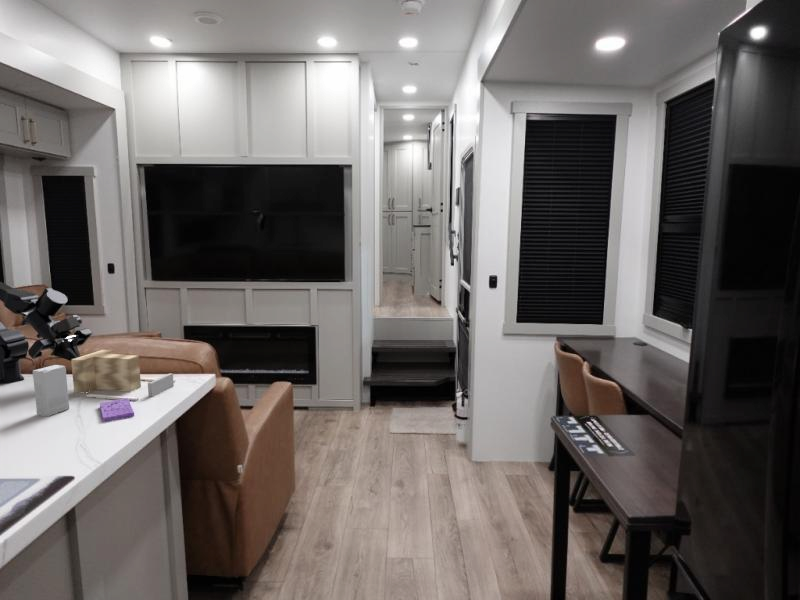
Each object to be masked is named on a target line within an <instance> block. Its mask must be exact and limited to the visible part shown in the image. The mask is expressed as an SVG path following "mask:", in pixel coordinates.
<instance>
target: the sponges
mask: <svg viewBox="0 0 800 600" xmlns="http://www.w3.org/2000/svg"><path fill="white" fill-rule="evenodd" d="M99 408H100V412H101V413H100V414H101V418H102V421H103V423H104V422H105V423H106V422H107V423H108V422H112V420H113V421H117V420H121V419H128V418H133V417H132V416H134V417H135V411H134V410H133V407H132V404H131V402H130V400H129V399H128V398H125V399H119V400H118V399H113V400H109V401H104V402H99ZM127 417H128V418H127Z"/></svg>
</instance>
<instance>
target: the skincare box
mask: <svg viewBox="0 0 800 600" xmlns="http://www.w3.org/2000/svg"><path fill="white" fill-rule="evenodd" d="M32 378H33V379H32V380H33V388H34V398H35V408H36V414H37V415H39V416H42V415H43V417H50V416H53V415H55V414H57V413H58V412H59V413H61V412H64V411H67V410H70V399H69V389H68V388H69V387H68V378H67V369H66V366H65V365H62V364H61V365H60V364H53V365H49V366H46V367H42V368H38V369H33V370H32Z"/></svg>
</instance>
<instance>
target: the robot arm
mask: <svg viewBox="0 0 800 600" xmlns="http://www.w3.org/2000/svg"><path fill="white" fill-rule="evenodd" d="M68 299H69V298H68V296H67V295H65V293H62V292H60V291H58V290H55V289H53V288H52V287H48V288H44V289H43V291H42V293H41V294H40V296H39V295H38V294H36V293H35V292H31V291H27V290H23V289H17V288H13V287H12V286H10V285H8V284H6V283H5V282H2V281H0V301H1V302H3V306H4V307H5V308H6V309H7V310H9V311H10V312H11V313H13V314H16V315H19V314H25V313H27V314H26V315H25V316H22V317H21V318H22V320H21V326H29V325H30V326H31V327H32V329H33V330H34V331H36V333H37V334H36V337H37V339H36V340H35V341H34V342H33V343H32V345H31V346H30V345H29V342H28V340H27V337H26V336H24V335H23V334H22V332H21V330H19V329H11V330H10V329H8V328H7V327H5V325H4V324H3V323H2V321H0V384H5V383H12V382H18V381H23V380H25V377H24V376H23V375H22V373H21V364H20V360H23V359H26V358H27V355H28V356H30V357H31V359H32V360H33V359H38V358H41V357H42V356H43V352H42V351H46V350H51V353H50V354H49V355H50V356H51V357H53V356H54V357H57V358H60V359H65V360H67V361H70V362H71V359H75V358H78V357H81V356H82V355H81V354H80V352H79V347H80V346H83V345H84V344H85V343H87V340H89V339H90V337H91V336H92V335H93V332H92V331H91V330H90V329H89V328H82V329H77V330H75V331H74V332H73V330H74V329H76V328H79V327H81V325H82V323H83V321H82V320H83V319H82V318H81V317H80V316H79V315H77V314H74V315H71V316H68V318H67V317H66V318H63V319H62V320H56V319H55V318H53V317H54V316H57V314H58V313H59V312H60V311H61V310H62V308H64V306H65V304H66V303H67V302H68ZM72 333H73V334H72ZM71 334H72V335H71ZM29 346H30V347H29Z"/></svg>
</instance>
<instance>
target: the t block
mask: <svg viewBox="0 0 800 600" xmlns="http://www.w3.org/2000/svg"><path fill="white" fill-rule="evenodd" d="M80 356H81V357H78V358H75V359H71V361H70V362H71V371H72V385H73V393H77V392H84V393H83V394H87V393H86V392H88V393H89V391H90V392H92V391H91V390H93V391H95V390H105V389H106V391H108V390H109V391H118V390H125V391H124V392H131V391H132V392H134V391H136V390H138V389H140V387H142V385H141V384H142V380H140V378H141V367H140V356H139V355H135V354H134V355H132V354H117V353H115V352H114V350H112V349H109V350H108V349H101V350H98V351H94V352H91V353H88V354H85V355H84V354H83V355H80ZM94 389H95V390H94ZM135 389H136V390H135ZM133 390H134V391H133Z"/></svg>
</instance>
